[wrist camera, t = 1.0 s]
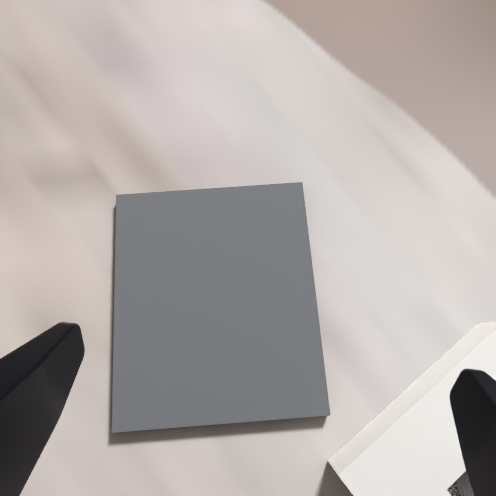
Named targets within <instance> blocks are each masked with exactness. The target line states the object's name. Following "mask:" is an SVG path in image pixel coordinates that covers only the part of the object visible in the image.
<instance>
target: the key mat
mask: <svg viewBox="0 0 496 496" xmlns="http://www.w3.org/2000/svg"><path fill="white" fill-rule="evenodd" d="M329 415H330V409H329V401H328V393H327V384H326V376H325V368H324V359H323V351H322V343H321V334H320V326H319V318H318V310H317V301H316V293H315V285H314V276H313V268H312V260H311V251H310V243H309V235H308V227H307V218H306V210H305V202H304V193H303V185H302V182H299V183H284V184H270V185H255V186H241V187H226V188H211V189H197V190H182V191H167V192H153V193H138V194H123V195H116V232H115V286H114V339H113V392H112V433H115V432H128V431H141V430H153V429H166V428H178V427H191V426H203V425H216V424H228V423H241V422H254V421H266V420H279V419H291V418H304V417H316V416H329Z"/></svg>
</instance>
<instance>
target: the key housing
mask: <svg viewBox="0 0 496 496" xmlns="http://www.w3.org/2000/svg"><path fill="white" fill-rule="evenodd" d="M466 368H468V369H476V370H482V371H484V372H486V373H487V374H488V375H490V376H491V377H492V378H493V379H494V380H496V321H494V322H486V323H478V324H477V325H475V326H474V327H473V328H472V329H471V330H470V331H469V332H468V333H467V334H466V335H464V336H463V337H462V338H461V339H460V340H459V341H458V342H457V343H456V344H455V345H454V346H452V347H451V348H450V349H449V350H448V351H447V352H446V353H445V354H444V355H443V356H442V357H440V358H439V359H438V360H437V361H436V362H435V363H434V364H433V365H432V366H431V367H430V368H428V369H427V370H426V371H425V372H424V373H423V374H422V375H421V376H420V377H419V378H417V379H416V380H415V381H414V382H413V383H412V384H411V385H410V386H409V387H408V388H407V389H405V390H404V391H403V392H402V393H401V394H400V395H399V396H398V397H397V398H396V399H395V400H393V401H392V402H391V403H390V404H389V405H388V406H387V407H386V408H385V409H384V410H382V411H381V412H380V413H379V414H378V415H377V416H376V417H375V418H374V419H373V420H372V421H370V422H369V423H368V424H367V425H366V426H365V427H364V428H363V429H362V430H361V431H360V432H358V433H357V434H356V435H355V436H354V437H353V438H352V439H351V440H350V441H349V442H348V443H346V444H345V445H344V446H343V447H342V448H341V449H340V450H339V451H338V452H337V453H335V454H334V455H333V456H332V457H331V458H330V459H329V460H328V462H329V463H330V465H331V466H332V468H333V469H334V470H335V472H336V473H337V475H338V476H339V477H340V479H341V480H342V481H343V483H344V484H345V485H346V486H347V488H348V489H349V490H350V492H351V493H352V494H353V496H451V494H450V493H449V492H448V491H447V489H448V488H449V487H450V486H451V485H452V484H453V483H454V482H455V481H456V480H457V479H458V478H459V477H460V476H461V475H462V474H463V473H464V472H465V471H466V469H465V465H464V461H463V457H462V453H461V448H460V444H459V440H458V435H457V431H456V426H455V422H454V418H453V413H452V409H451V404H450V391H451V389H452V387H453V385H454V383H455V381H456V380H457V378H458V376H459V374H460V372H461V371H462V370H463V369H466Z"/></svg>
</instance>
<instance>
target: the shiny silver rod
mask: <svg viewBox="0 0 496 496" xmlns="http://www.w3.org/2000/svg"><path fill="white" fill-rule="evenodd" d="M456 483H457V487H458V490H459V493H460V495H461V496H474V493H473V490H472V487H471V484H470V481H469V478H468V475H467V472H466V471H465V472H464V473H463V474H462V475H461V476H460V477H459V478H458V479H457V480H456Z"/></svg>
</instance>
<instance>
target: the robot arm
mask: <svg viewBox="0 0 496 496" xmlns="http://www.w3.org/2000/svg"><path fill="white" fill-rule="evenodd" d="M83 357H84V343H83V339H82V334H81V329H80V326H79V325H78V324H75V323H67V322H61V323H58V324H56V325H55V326H53V327H51V328H50V329H48V330H46V331H45V332H43V333H42V334H40V335H38V336H37V337H35V338H33V339H32V340H30V341H29V342H27V343H25V344H24V345H22V346H20V347H19V348H17V349H16V350H14V351H12V352H11V353H9V354H7V355H6V356H4V357H3V358H1V359H0V496H19V495H20V494H21V492H22V490H23V488H24V486H25V484H26V482H27V480H28V478H29V476H30V474H31V472H32V470H33V468H34V467H35V465H36V463H37V461H38V459H39V457H40V455H41V453H42V451H43V449H44V447H45V445H46V443H47V442H48V440H49V438H50V436H51V434H52V432H53V430H54V428H55V426H56V424H57V422H58V420H59V418H60V415H61V413H62V411H63V408H64V406H65V403H66V400H67V398H68V395H69V393H70V390H71V388H72V385H73V383H74V380H75V378H76V375H77V372H78V370H79V367H80V365H81V362H82V360H83ZM450 404H451V409H452V413H453V418H454V422H455V426H456V431H457V435H458V440H459V444H460V448H461V453H462V457H463V461H464V465H465V469H466V472H467V475H468V478H469V481H470V484H471V487H472V490H473V493H474V496H496V380H494V379H493V378H492V377H491V376H490V375H488V374H487V373H486V372H484V371H482V370H476V369H468V368H466V369H463V370H462V371H461V372H460V374H459V376H458V378H457V380H456V381H455V383H454V385H453V387H452V389H451V391H450Z"/></svg>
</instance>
